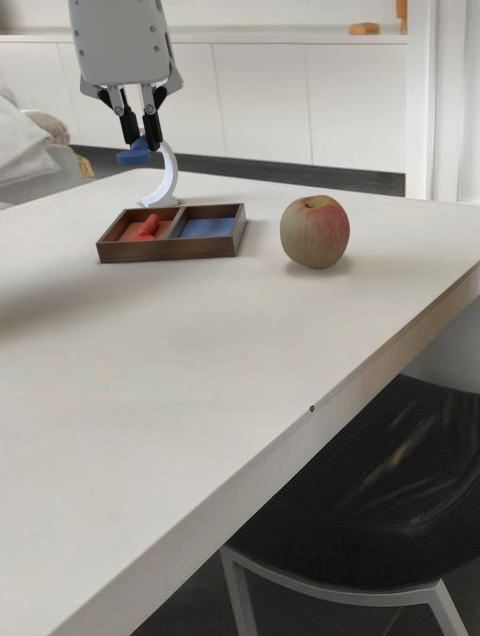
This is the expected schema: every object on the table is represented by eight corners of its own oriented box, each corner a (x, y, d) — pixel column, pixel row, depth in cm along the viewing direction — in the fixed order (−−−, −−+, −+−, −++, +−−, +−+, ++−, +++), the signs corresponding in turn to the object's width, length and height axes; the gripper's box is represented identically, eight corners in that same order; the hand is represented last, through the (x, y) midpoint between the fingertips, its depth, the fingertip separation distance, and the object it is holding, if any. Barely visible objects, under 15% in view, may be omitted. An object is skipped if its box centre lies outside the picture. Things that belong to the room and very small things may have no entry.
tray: (100, 263, 91) (95, 243, 90) (128, 226, 104) (123, 208, 102) (235, 256, 91) (232, 236, 90) (246, 220, 104) (244, 202, 102)
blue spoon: (168, 142, 87) (165, 128, 86) (147, 164, 77) (144, 149, 76) (138, 143, 87) (135, 129, 86) (114, 166, 77) (110, 151, 76)
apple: (342, 250, 92) (338, 187, 87) (358, 272, 85) (356, 205, 80) (278, 258, 90) (271, 194, 85) (289, 281, 83) (282, 213, 78)
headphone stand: (141, 203, 114) (123, 123, 107) (176, 197, 116) (161, 118, 109) (148, 209, 111) (130, 127, 103) (184, 203, 113) (169, 122, 106)
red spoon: (169, 223, 102) (166, 212, 101) (152, 249, 92) (150, 237, 91) (143, 224, 102) (141, 213, 101) (124, 251, 92) (121, 239, 91)
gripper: (185, -44, 75) (214, 140, 86) (43, -36, 75) (91, 147, 86) (171, -44, 69) (205, 153, 80) (17, -35, 69) (72, 161, 80)
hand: (146, 149), depth 83 cm, fingers closed on blue spoon, 1 cm apart
